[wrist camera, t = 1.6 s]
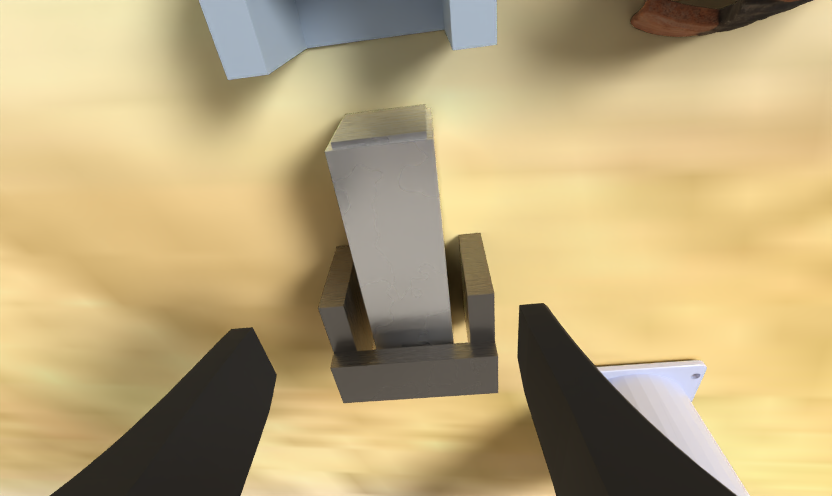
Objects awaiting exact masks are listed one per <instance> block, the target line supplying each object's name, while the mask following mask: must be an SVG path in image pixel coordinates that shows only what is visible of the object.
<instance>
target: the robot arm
mask: <svg viewBox="0 0 832 496" xmlns="http://www.w3.org/2000/svg"><path fill="white" fill-rule="evenodd" d="M518 363H519V368H520V373H521V378H522V383H523V388H524V392H525V396H526V399H527V403H528V406H529V409H530V412H531V416H532V419H533V422H534V425H535V428H536V431H537V435H538V438H539V441H540V444H541V447H542V450H543V454H544V457H545V460H546V463H547V466H548V469H549V472H550V476H551V479H552V482H553V486H554V489H555V493H556V496H750V495H749V493H748V492H747V490H746V489H745V487H744V485H743V484H742V482H741V481H740V479H739V477H738V476H737V474H736V473H735V471H734V469H733V468H732V466H731V465H730V463H729V462H728V460H727V458H726V457H725V455H724V454H723V452H722V450H721V449H720V447H719V446H718V444H717V442H716V441H715V439H714V438H713V436H712V434H711V433H710V431H709V430H708V428H707V427H706V425H705V423H704V422H703V420H702V419H701V417H700V415H699V414H698V412H697V411H696V409H695V407H694V406H693V404H692V403H691V402H692V400H693V398H694V396H695V394H696V391H697V389H698V387H699V385H700V383H701V380H702V378H703V376H704V374H705V372H706V369H707V367H706V366H705V364H704V363H703V361H700V360H690V361H676V362H661V363H647V364H632V365H618V366H604V367H596V366H595V365H594V364H593V363H592V362H591V361H590V359H589V358H588V357H587V356H586V355H585V354H584V353H583V351H582V350H581V349H580V348H579V347H578V346H577V344H576V343H575V342H574V341H573V339H572V338H571V337H570V336H569V334H568V333H567V332H566V331H565V329H564V328H563V327H562V326H561V324H560V323H559V322H558V320H557V319H556V318H555V316H554V315H553V314H552V312H551V311H550V309H549V308H548V307H547V306H546V305H545V304H544V303H539V304H527V305H519V330H518ZM276 376H277V375H276V373H275V371H274V369H273V367H272V365H271V363H270V361H269V359H268V357H267V355H266V353H265V351H264V349H263V347H262V345H261V343H260V341H259V339H258V337H257V335H256V333H255V331H254V329H253V327H251V328H239V329H231V330H230V331H229V332H228V333H227V334H226V335H225V336H224V337H223V338H222V339H221V340H220V341H219V342H218V343H217V344H216V345H215V346H214V347H213V348H212V349H211V350H210V351H209V352H208V353H207V354H206V355H205V356H204V357H203V358H202V359H201V360H200V361H199V362H198V363H197V364H196V365H195V366H194V367H193V368H192V369H191V370H190V371H189V372H188V373H187V374H186V375H185V376H184V377H183V378H182V379H181V380H180V382H179V383H178V384H177V385H176V386H175V387H174V388H173V389H172V390H171V391H170V392H169V393H168V394H167V395H166V396H165V397H164V398H163V399H161V400H160V401H159V402H158V403H157V404H156V405H155V406H154V407H153V408H152V409H151V410H150V411H149V412H148V413H147V414H146V415H145V416H143V417H142V418H141V419H140V420H139V421H138V422H137V423H136V424H135V425H134V426H133V427H132V428H131V429H130V430H129V431H128V432H126V433H125V434H124V435H123V436H122V437H121V438H120V439H119V440H118V441H116V442H115V443H114V444H113V445H112V446H111V447H110V448H108V449H107V450H106V451H105V452H104V453H103V454H101V455H100V456H99V457H98V458H97V459H95V460H94V461H93V462H92V463H91V464H89V465H88V466H87V467H86V468H85V469H83V470H82V471H81V472H80V473H78V474H77V475H76V476H75V477H74V478H72V479H71V480H70V481H68V482H67V483H66V484H65V485H63V486H62V487H61V488H59V489H58V490H57V491H55V492H54V493H53V494H51V495H50V496H240V495H241V493H242V490H243V487H244V484H245V481H246V478H247V475H248V472H249V470H250V467H251V464H252V461H253V458H254V455H255V452H256V449H257V446H258V444H259V441H260V438H261V435H262V432H263V429H264V426H265V423H266V420H267V417H268V414H269V410H270V406H271V401H272V397H273V392H274V387H275V381H276Z"/></svg>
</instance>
